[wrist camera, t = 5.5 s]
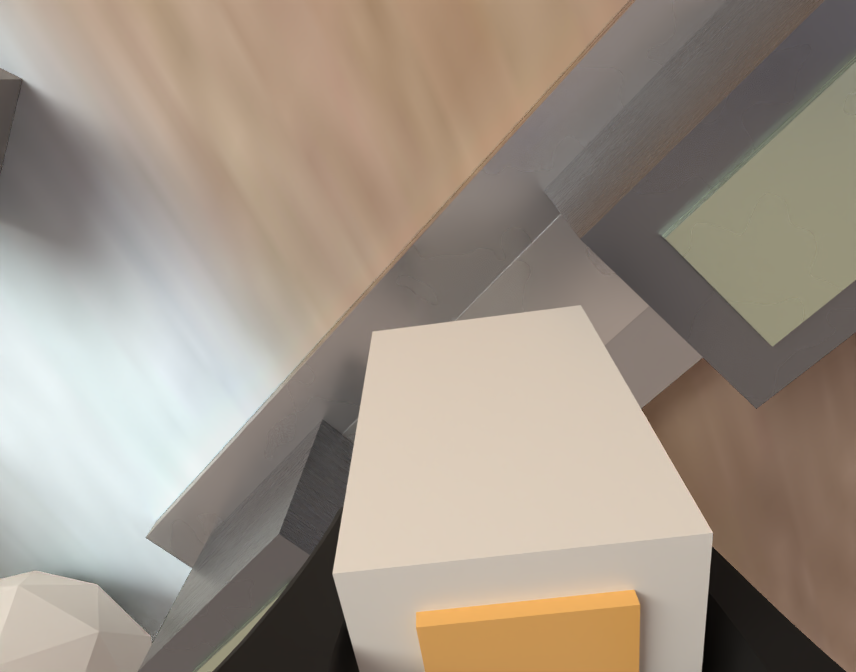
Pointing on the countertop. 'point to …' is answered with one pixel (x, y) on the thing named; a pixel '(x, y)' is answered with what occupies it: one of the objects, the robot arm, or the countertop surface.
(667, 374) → the rail
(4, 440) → the countertop surface
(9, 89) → the relay block
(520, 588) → the block
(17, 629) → the beige faceted rounded lump
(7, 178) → the countertop surface
